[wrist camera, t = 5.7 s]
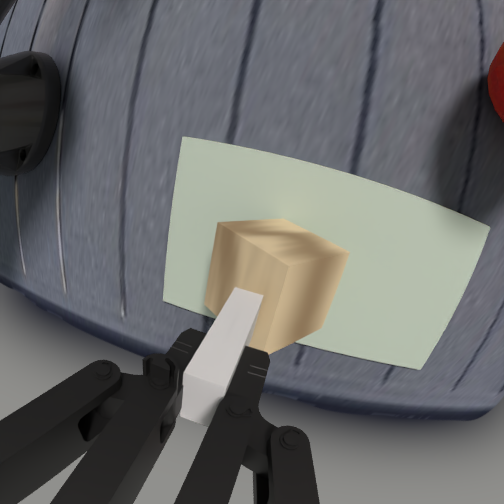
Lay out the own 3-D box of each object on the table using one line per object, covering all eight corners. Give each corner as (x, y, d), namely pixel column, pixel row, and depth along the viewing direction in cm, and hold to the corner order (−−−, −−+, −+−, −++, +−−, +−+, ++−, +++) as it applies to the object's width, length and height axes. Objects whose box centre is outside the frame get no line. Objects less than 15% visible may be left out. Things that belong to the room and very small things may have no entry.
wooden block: (203, 303, 20) (261, 357, 16) (217, 221, 18) (288, 266, 14) (265, 287, 24) (321, 328, 20) (283, 218, 22) (350, 252, 18)
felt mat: (164, 298, 28) (163, 300, 27) (184, 136, 22) (182, 136, 21) (419, 367, 24) (420, 369, 24) (488, 225, 19) (490, 227, 18)
